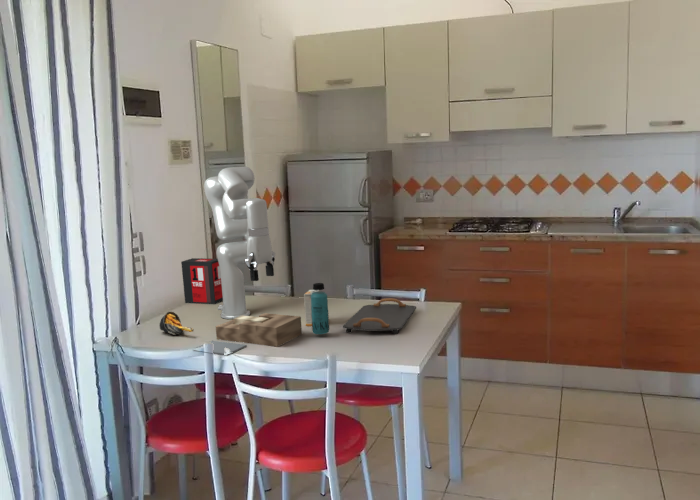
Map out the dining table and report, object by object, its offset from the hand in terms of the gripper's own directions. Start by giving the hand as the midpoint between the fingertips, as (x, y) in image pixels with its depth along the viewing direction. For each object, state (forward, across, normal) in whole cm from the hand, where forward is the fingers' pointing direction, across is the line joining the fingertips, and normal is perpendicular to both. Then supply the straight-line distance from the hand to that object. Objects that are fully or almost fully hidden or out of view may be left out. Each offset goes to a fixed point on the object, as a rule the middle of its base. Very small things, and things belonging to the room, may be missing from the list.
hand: (262, 278), depth 244 cm
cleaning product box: (+20, -40, -64) cm, 78 cm away
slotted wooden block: (+22, +1, -3) cm, 23 cm away
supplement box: (+22, -22, +8) cm, 32 cm away
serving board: (+23, -32, +32) cm, 51 cm away
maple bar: (+19, +1, -6) cm, 20 cm away
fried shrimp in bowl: (+22, +9, -37) cm, 44 cm away
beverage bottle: (+23, -7, +19) cm, 31 cm away
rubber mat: (+22, +18, -8) cm, 30 cm away
